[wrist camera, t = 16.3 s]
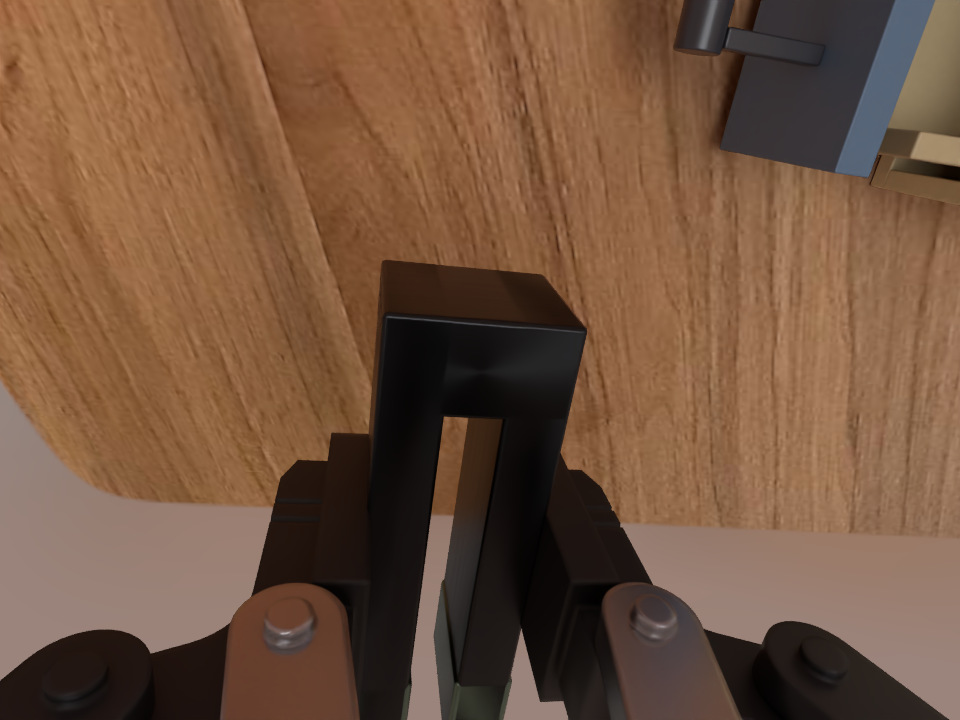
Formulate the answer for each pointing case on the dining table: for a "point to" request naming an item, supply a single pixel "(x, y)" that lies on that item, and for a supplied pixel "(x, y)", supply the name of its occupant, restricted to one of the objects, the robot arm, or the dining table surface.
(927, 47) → the drawer
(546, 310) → the black rectangular block
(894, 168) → the cabinet
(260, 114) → the dining table surface
